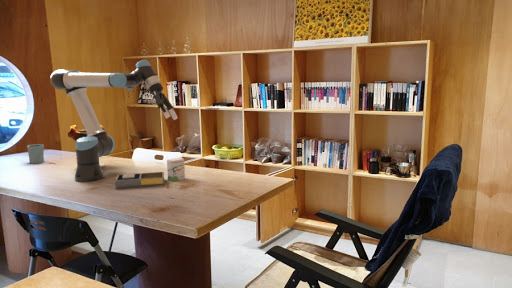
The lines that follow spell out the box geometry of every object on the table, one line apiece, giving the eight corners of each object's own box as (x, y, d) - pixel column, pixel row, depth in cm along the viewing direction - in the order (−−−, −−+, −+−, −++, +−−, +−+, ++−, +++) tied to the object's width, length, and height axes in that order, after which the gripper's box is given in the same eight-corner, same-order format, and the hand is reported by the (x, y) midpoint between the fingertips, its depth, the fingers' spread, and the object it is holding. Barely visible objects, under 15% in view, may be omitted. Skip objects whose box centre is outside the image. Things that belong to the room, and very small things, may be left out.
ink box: (172, 181, 216) (171, 160, 214) (167, 180, 219) (166, 159, 217) (185, 178, 222) (184, 158, 220) (180, 177, 225) (179, 157, 223)
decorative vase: (114, 166, 254) (108, 123, 249) (75, 173, 241) (69, 128, 236) (106, 161, 271) (100, 121, 266) (69, 167, 258) (63, 125, 253)
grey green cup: (40, 160, 278) (39, 143, 277) (48, 162, 273) (46, 145, 271) (25, 162, 270) (24, 145, 268) (32, 164, 264) (31, 147, 263)
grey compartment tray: (115, 189, 201) (115, 179, 200) (118, 182, 215) (117, 173, 214) (164, 185, 207) (164, 176, 206) (163, 179, 221) (163, 170, 220)
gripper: (151, 78, 209) (170, 113, 207) (167, 85, 233) (184, 116, 232) (139, 85, 209) (158, 120, 208) (156, 92, 234) (173, 122, 233)
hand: (172, 118), depth 220 cm, fingers open, 13 cm apart
